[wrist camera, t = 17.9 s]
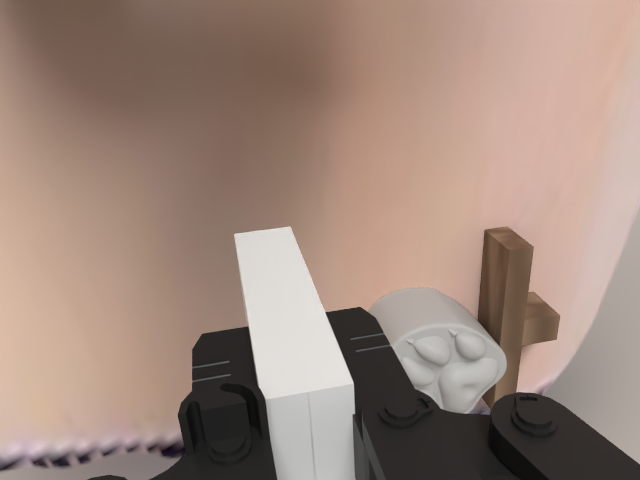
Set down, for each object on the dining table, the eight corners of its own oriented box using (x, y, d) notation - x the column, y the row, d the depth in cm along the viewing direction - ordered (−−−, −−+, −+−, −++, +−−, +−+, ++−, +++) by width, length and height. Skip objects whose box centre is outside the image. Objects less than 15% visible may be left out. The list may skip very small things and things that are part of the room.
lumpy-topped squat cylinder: (428, 386, 64) (460, 441, 57) (342, 341, 59) (365, 394, 51) (487, 320, 62) (528, 367, 54) (403, 266, 57) (436, 310, 49)
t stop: (472, 384, 65) (493, 413, 61) (484, 229, 57) (509, 250, 52) (523, 374, 66) (546, 402, 62) (542, 221, 58) (571, 241, 54)
